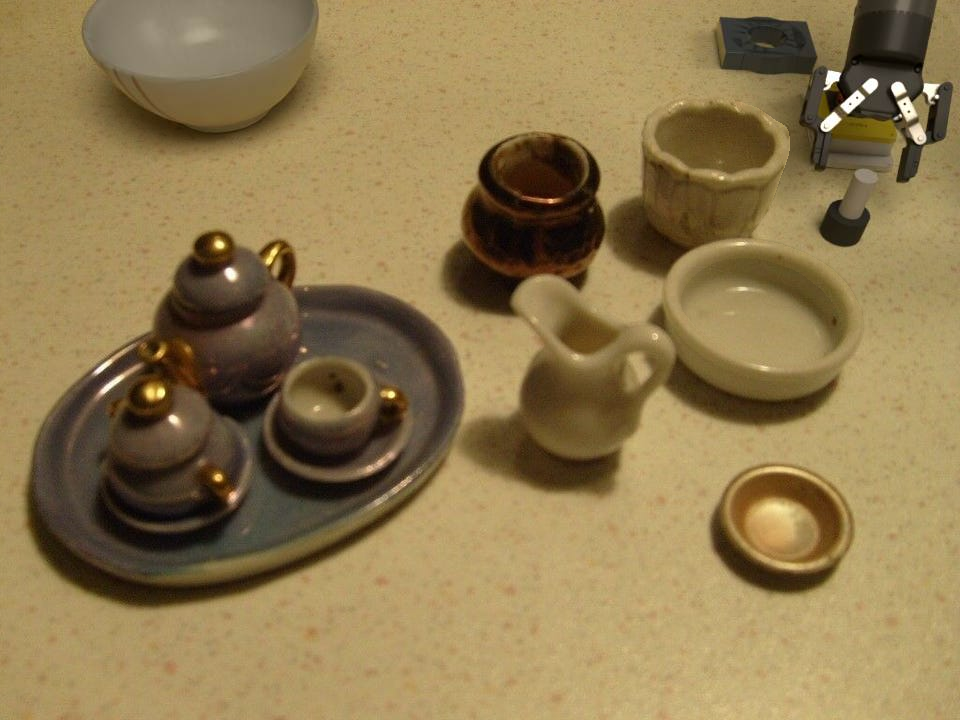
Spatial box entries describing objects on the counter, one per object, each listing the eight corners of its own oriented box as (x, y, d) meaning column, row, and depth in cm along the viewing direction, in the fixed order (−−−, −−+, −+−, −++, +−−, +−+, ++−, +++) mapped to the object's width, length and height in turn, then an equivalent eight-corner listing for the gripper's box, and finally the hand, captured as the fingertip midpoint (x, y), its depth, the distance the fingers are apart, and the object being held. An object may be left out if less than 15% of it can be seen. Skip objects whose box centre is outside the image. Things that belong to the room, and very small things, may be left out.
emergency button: (885, 69, 108) (908, 142, 98) (872, 99, 111) (893, 172, 102) (810, 63, 108) (825, 135, 99) (799, 93, 112) (813, 165, 102)
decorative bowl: (89, 171, 100) (51, 80, 90) (141, 46, 117) (113, -43, 107) (320, 170, 100) (306, 79, 91) (338, 46, 117) (327, -42, 108)
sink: (800, 35, 121) (806, 18, 119) (812, 76, 114) (818, 59, 112) (714, 30, 121) (718, 14, 119) (721, 71, 115) (726, 54, 113)
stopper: (856, 221, 96) (883, 163, 90) (864, 248, 93) (892, 190, 87) (816, 218, 96) (840, 160, 90) (823, 245, 94) (848, 188, 87)
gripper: (832, -1, 86) (800, 162, 88) (980, 16, 84) (945, 182, 86) (813, 21, 93) (784, 171, 95) (949, 37, 92) (917, 190, 93)
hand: (860, 176), depth 90 cm, fingers open, 8 cm apart
